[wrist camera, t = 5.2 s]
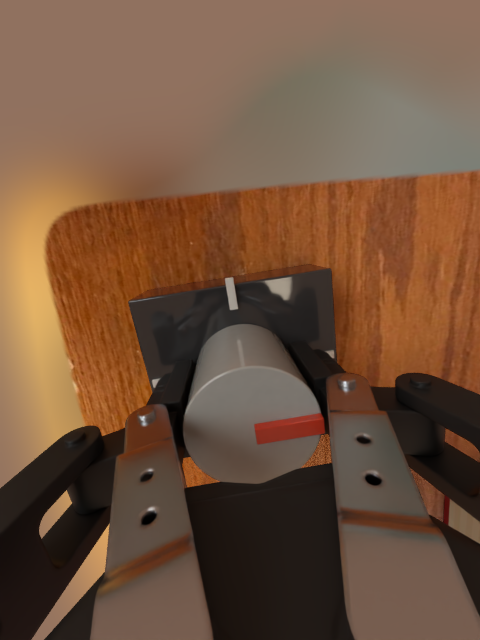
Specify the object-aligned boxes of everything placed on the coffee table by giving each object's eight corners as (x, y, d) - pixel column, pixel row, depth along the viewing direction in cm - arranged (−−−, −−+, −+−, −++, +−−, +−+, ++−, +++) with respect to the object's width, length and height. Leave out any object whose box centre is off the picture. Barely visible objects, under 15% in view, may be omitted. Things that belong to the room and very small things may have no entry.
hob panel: (178, 421, 17) (168, 460, 14) (144, 284, 15) (123, 294, 11) (321, 397, 17) (343, 430, 14) (310, 257, 15) (333, 261, 12)
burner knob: (206, 416, 13) (196, 506, 9) (187, 331, 12) (165, 384, 8) (294, 401, 13) (330, 483, 9) (284, 316, 12) (321, 359, 8)
